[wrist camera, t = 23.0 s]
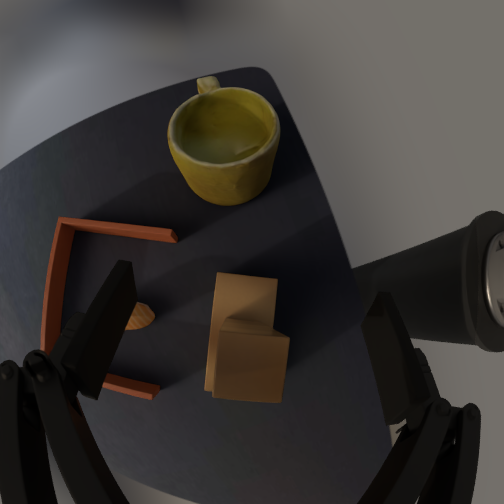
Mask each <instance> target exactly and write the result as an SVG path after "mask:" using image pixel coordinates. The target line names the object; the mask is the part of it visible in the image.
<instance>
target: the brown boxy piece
mask: <svg viewBox="0 0 504 504" xmlns="http://www.w3.org/2000/svg"><path fill="white" fill-rule="evenodd" d="M277 284H278V279H273V278H264V277H256V276H247V275H239V274H230V273H222V272H217V278H216V286H215V294H214V302H213V311H212V320H211V329H210V338H209V348H208V358H207V368H206V379H205V390H206V391H213V392H212V396H213V397H215V398H223V399H233V400H244V401H257V402H275V403H281V402H282V397H283V390H284V383H285V375H286V367H287V359H288V351H289V343H290V338H289V337H287V336H285V335H284V334H282V333H280V332H278V331H276V330H274V329H273V322H274V313H275V304H276V294H277Z"/></svg>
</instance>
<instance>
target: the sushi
mask: <svg viewBox="0 0 504 504" xmlns="http://www.w3.org/2000/svg"><path fill="white" fill-rule="evenodd" d="M154 318H155V314H154V312H153V311H152V310H151V309H150V308H149V306H148V305H146V304H143V303H139V302H137V304H136V306H135V308H134V310H133V313H132V315H131V317H130V319H129V322H128V324H127V326H126V328H125V330H132V329H140V328H143V327H146V326H148V325H149V324H150V323H151V322H152V321H153V320H154Z"/></svg>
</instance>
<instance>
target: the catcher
mask: <svg viewBox="0 0 504 504" xmlns="http://www.w3.org/2000/svg"><path fill="white" fill-rule="evenodd" d="M75 230H78V231H86V232H94V233H102V234H110V235H117V236H125V237H133V238H141V239H149V240H157V241H164V242H172V243H177V241H178V237H177V235H176V234H175V233H174V231H173V230H172V229H166V228H157V227H149V226H140V225H131V224H122V223H114V222H105V221H95V220H86V219H77V218H67V217H59V218H58V222H57V226H56V231H55V235H54V240H53V244H52V249H51V255H50V260H49V266H48V272H47V279H46V286H45V294H44V303H43V314H42V328H41V350H42V351H44V352H45V353H47V355H48V356H49V354H50V352H51V350H52V348H53V347H54V345H55V343H56V341H57V339H58V337H59V336H60V329H61V316H62V306H63V297H64V289H65V282H66V275H67V269H68V263H69V257H70V252H71V247H72V242H73V237H74V233H75ZM102 387H104V388H108V389H111V390H114V391H118V392H122V393H125V394H129V395H133V396H137V397H141V398H146V399H150V400H153V398H154V397H155V396H156V395H157V394H158V393H159V391H160V386H159V385H155V384H150V383H145V382H141V381H137V380H133V379H129V378H125V377H121V376H117V375H113V374H110V373H107V375H106V378H105V380H104V383H103V386H102Z"/></svg>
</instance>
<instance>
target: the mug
mask: <svg viewBox="0 0 504 504" xmlns="http://www.w3.org/2000/svg"><path fill="white" fill-rule="evenodd" d="M197 85H198V91H199V95H196V96H193V97H192V98H190V99H189V100H187V101H186V102H184V103H183V104H182V105H181V106H180V107H179V108H177V110H176V111H175V113H174V114H173V116H172V118H171V120H170V123H169V127H168V144H169V148H170V151H171V154H172V156H173V158H174V161H175V162H176V164H177V166H178V168H179V169H180V171H181V173H182V174H183V176H184V178H185V179H186V181H187V183H188V184H189V186H190V187H191V189H192V190H193V191H194V192H195V193H196V194H197V195H198V196H200V197H201V198H202V199H204V200H206V201H208V202H210V203H213V204H217V205H222V206H233V205H238V204H242V203H245V202H248V201H249V200H251V199H252V198H254V197H256V196H257V195H259V194H260V193H261V192H262V191H263V189H264V188H265V187H266V185H267V184H268V182H269V179H270V176H271V171H272V166H273V162H274V158H275V155H276V152H277V148H278V144H279V138H280V123H279V118H278V115H277V113H276V112H275V110H274V108H273V107H272V105H271V104H270V103H269V102H268V101H267V100H266V99H265V98H264V97H263V96H261V95H259V94H258V93H255V92H253V91H250V90H248V89H243V88H234V87H229V88H220V84H219V81H218V80H217V78H216V77H213V76H209V77H205V78H199V79H197Z"/></svg>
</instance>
